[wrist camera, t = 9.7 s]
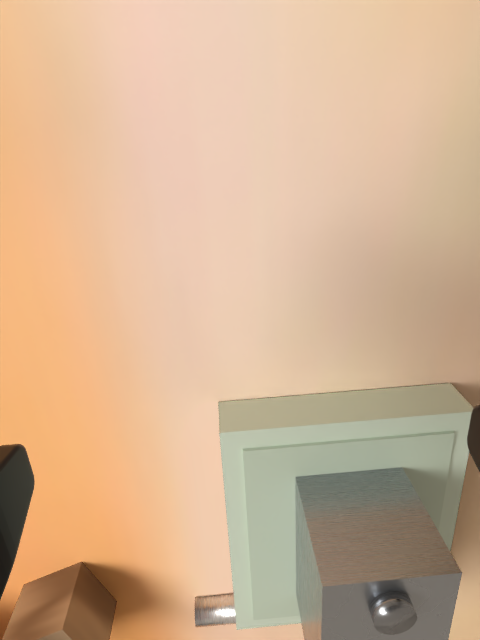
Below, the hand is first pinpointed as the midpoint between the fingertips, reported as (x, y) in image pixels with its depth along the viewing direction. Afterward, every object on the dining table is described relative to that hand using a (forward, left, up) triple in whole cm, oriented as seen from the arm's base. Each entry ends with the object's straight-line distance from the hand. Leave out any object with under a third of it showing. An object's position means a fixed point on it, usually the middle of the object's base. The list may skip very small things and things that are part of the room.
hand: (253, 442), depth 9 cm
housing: (-5, +14, -9) cm, 18 cm away
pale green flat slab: (-5, +14, -12) cm, 19 cm away
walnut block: (+11, +20, -12) cm, 26 cm away
